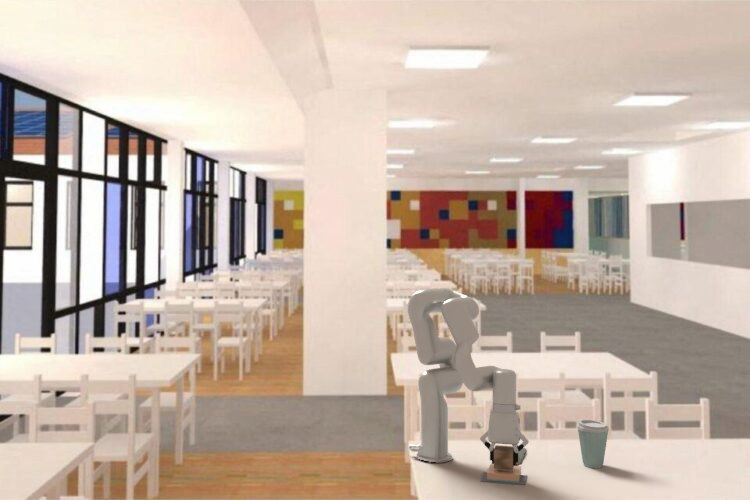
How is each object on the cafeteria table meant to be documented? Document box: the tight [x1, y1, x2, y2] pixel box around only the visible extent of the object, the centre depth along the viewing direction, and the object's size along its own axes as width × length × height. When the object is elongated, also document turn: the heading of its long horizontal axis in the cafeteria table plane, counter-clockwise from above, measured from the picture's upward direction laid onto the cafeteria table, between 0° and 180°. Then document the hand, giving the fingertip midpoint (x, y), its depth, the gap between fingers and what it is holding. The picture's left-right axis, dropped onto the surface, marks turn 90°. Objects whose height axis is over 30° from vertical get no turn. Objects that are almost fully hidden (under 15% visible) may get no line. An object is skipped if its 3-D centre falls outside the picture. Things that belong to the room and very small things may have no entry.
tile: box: [486, 463, 522, 483], centre depth 237 cm, size 10×2×10 cm
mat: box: [480, 471, 528, 486], centre depth 236 cm, size 14×10×1 cm
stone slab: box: [516, 447, 527, 466], centre depth 263 cm, size 22×3×10 cm
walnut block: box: [494, 444, 514, 470], centre depth 237 cm, size 6×6×6 cm
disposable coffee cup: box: [576, 418, 610, 469], centre depth 251 cm, size 11×11×15 cm
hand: (504, 463), depth 237 cm, fingers open, 6 cm apart
